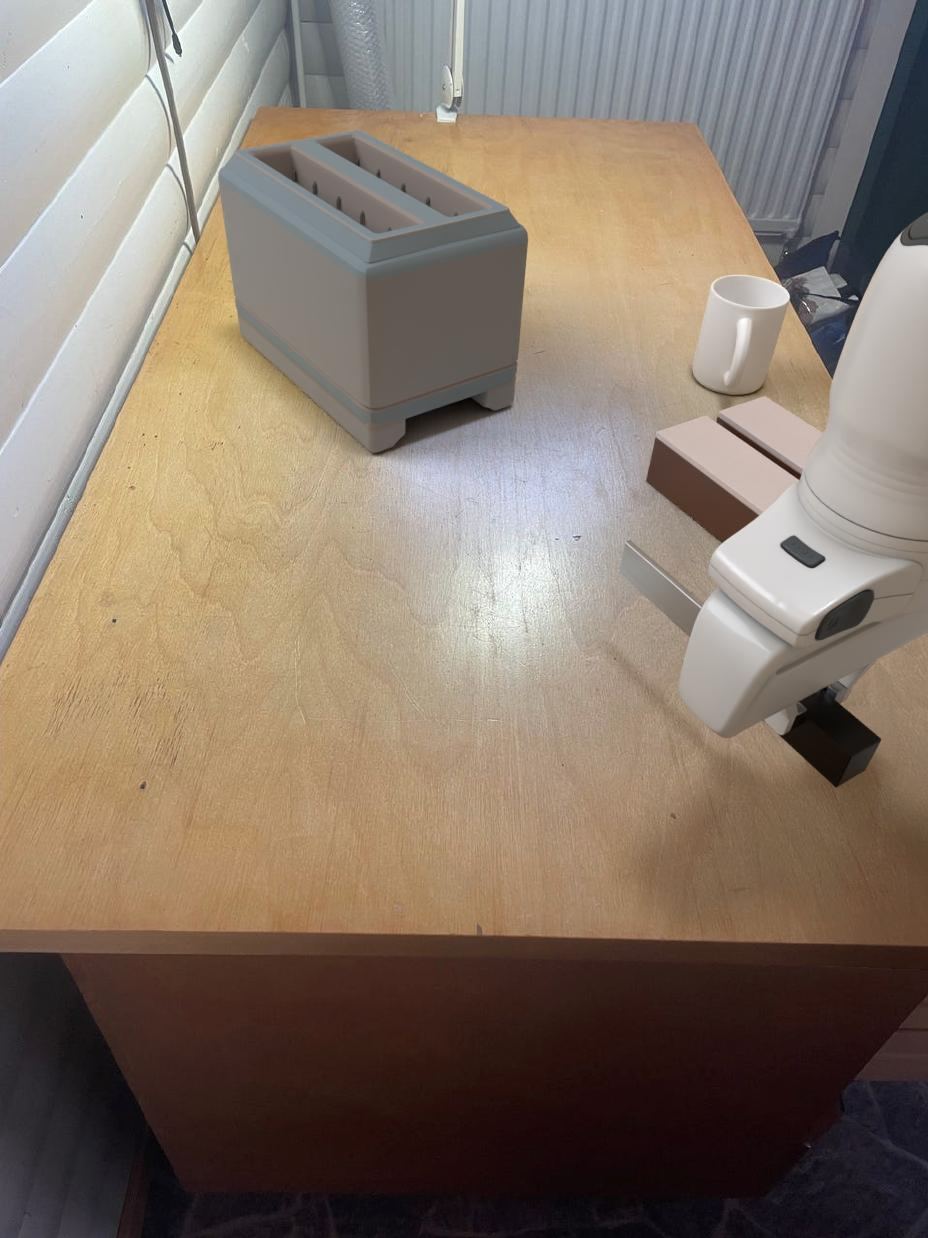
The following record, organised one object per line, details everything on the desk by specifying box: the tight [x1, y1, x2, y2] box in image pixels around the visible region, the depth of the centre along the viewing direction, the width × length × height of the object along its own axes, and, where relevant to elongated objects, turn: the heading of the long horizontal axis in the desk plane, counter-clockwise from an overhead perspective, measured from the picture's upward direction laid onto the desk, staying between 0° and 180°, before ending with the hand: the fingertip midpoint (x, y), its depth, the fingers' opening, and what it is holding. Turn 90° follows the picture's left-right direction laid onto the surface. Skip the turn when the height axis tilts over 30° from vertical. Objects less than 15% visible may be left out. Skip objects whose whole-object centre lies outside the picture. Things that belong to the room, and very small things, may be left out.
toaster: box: [217, 129, 529, 454], centre depth 96 cm, size 19×33×20 cm, turn 36°
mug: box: [692, 274, 791, 396], centre depth 99 cm, size 12×8×10 cm
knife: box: [619, 539, 882, 788], centre depth 60 cm, size 22×3×3 cm, turn 31°
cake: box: [645, 395, 823, 544], centre depth 85 cm, size 14×14×6 cm
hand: (802, 711), depth 56 cm, fingers closed on knife, 2 cm apart
